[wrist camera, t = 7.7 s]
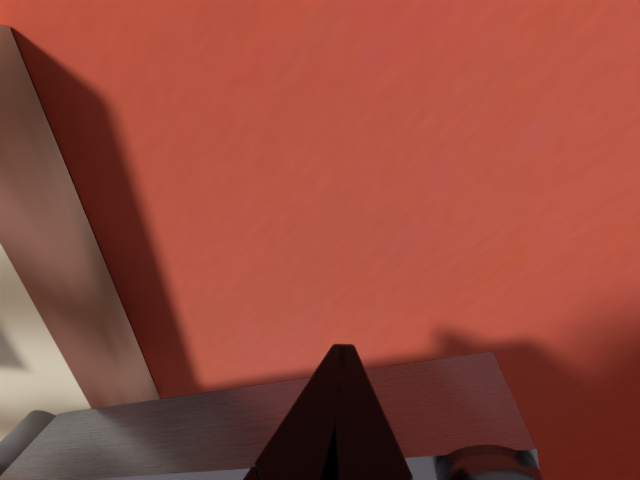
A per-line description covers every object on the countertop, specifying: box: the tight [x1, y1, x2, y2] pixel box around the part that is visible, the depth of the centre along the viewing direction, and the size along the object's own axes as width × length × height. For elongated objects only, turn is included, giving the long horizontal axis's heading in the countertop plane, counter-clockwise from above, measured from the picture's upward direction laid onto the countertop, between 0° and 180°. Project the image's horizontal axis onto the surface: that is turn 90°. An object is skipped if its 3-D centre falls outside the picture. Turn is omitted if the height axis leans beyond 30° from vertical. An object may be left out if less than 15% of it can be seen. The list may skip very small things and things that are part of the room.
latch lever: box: [0, 351, 544, 480], centre depth 9 cm, size 16×2×3 cm, turn 110°
